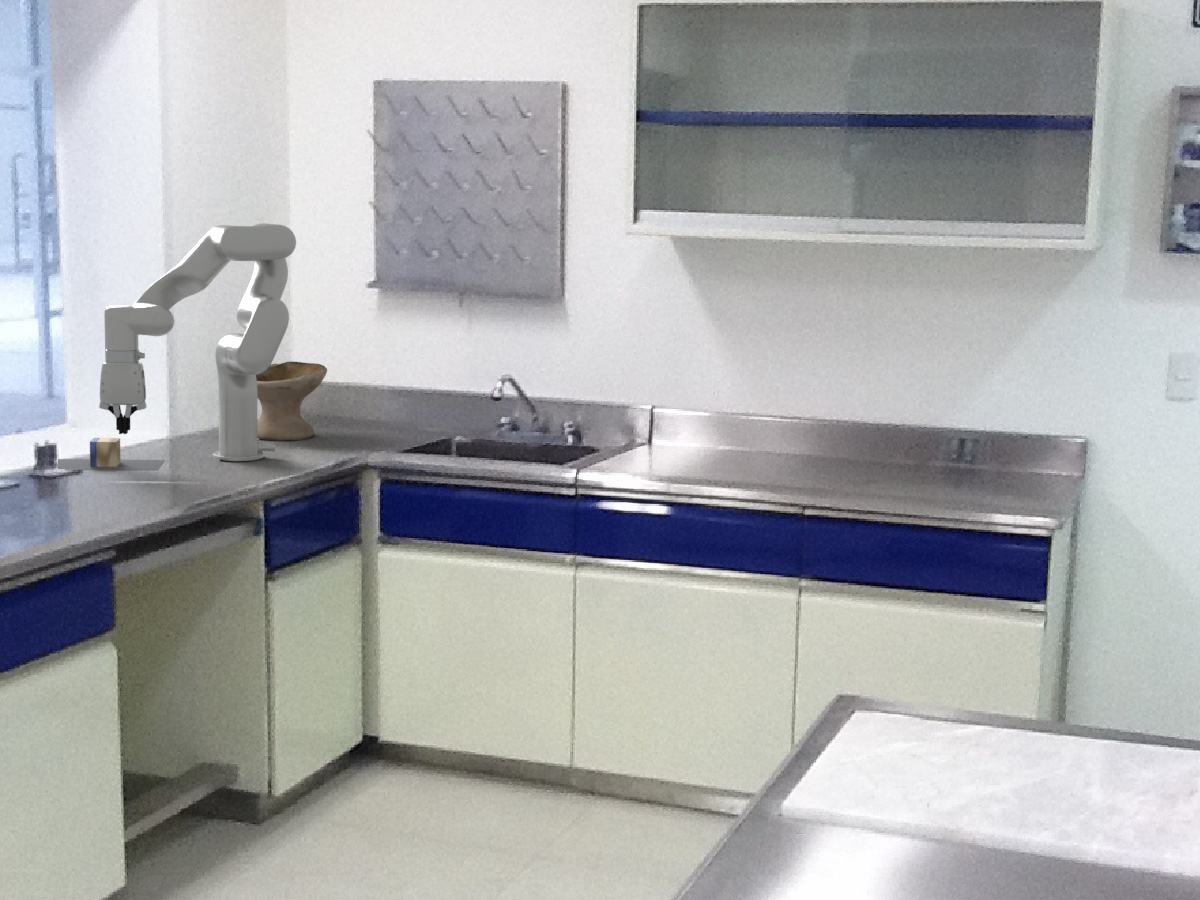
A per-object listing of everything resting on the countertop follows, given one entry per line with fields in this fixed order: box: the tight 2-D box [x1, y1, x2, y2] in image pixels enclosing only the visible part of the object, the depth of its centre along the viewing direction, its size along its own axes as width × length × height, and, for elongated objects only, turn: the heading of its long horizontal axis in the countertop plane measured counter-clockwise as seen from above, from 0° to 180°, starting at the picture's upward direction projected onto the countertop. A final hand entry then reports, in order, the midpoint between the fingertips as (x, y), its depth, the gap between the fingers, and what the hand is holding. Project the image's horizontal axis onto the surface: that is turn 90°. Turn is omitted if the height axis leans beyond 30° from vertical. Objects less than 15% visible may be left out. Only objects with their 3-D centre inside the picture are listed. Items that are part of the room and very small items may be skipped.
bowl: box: [256, 361, 328, 442], centre depth 388 cm, size 26×25×20 cm
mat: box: [57, 458, 166, 471], centre depth 334 cm, size 26×14×1 cm, turn 100°
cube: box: [89, 437, 121, 467], centre depth 333 cm, size 6×6×6 cm
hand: (123, 433), depth 333 cm, fingers closed
